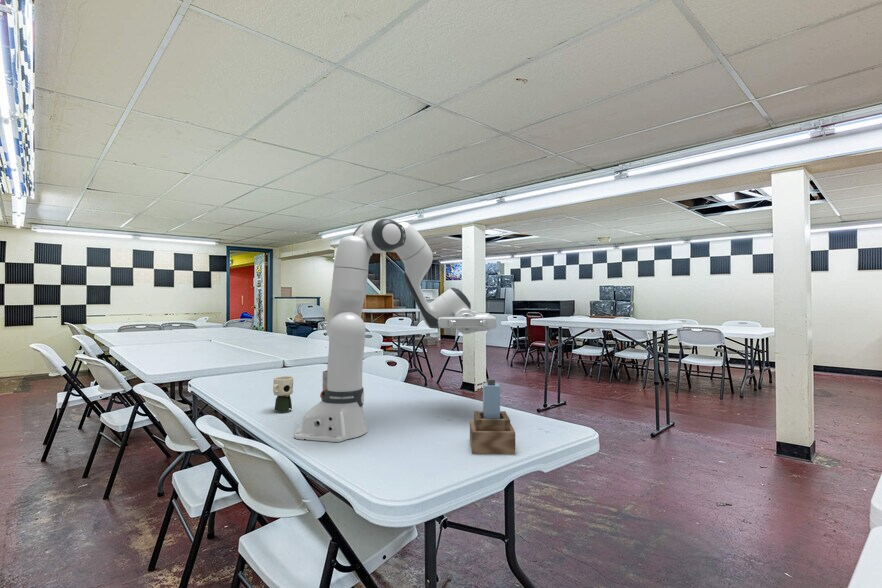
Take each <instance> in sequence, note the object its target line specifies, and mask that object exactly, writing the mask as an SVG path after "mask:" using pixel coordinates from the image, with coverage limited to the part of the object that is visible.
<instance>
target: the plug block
mask: <svg viewBox="0 0 882 588" xmlns="http://www.w3.org/2000/svg"><path fill="white" fill-rule="evenodd" d="M482 411H483V419H500V411H501V386H500V384H499V383H498V382H496V379H495V378H487V381H486V382H483V383H482Z"/></svg>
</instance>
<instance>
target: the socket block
mask: <svg viewBox="0 0 882 588" xmlns="http://www.w3.org/2000/svg"><path fill="white" fill-rule="evenodd" d="M469 443H470V449H471V450H470V451H471V455H516V431H515V429H514V427H513V425H512V424H511V419H510V417H509V415H508V413H507V412H506V411H505V410H504V411H501V410H500V419H483V410H480V411H479V410H474V411H473V419H469Z"/></svg>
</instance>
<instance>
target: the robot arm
mask: <svg viewBox="0 0 882 588" xmlns="http://www.w3.org/2000/svg"><path fill="white" fill-rule="evenodd" d="M392 251H394V252H395V253H396V254H397V256H398V257H399V259H400V260H401V262H402V263H403V265H404V272H403V275H402V276H403V279H404V281H405V284H406V286H407V288H408V290H409V292H410V295H411V297H412V299H414V301H415V304H416V306H417V307H418V309H419V312H420V315H421V318H422V320H423V322H424V323H425V325H426V326H427V327H428V328H429V329H433V330H434V329H435V330H436V329H437V330H438V329H456V330H457V331H458V332H459V333H460V334H464V335H468V334H472V333H473V334H474V333H477V332H484V331H485V332H487V331H490V330H492V329H496V328H497V317H496V316H494V315H491V314H490V312H482V311H481V312H480V311H474V310H472V309H471V308H472V307H471V306H472V304H471V301H469V298H468V297H467V296H466V295H465V294H464V293H463V292H462V291H461V290H460V289H459V288H456V287H450V288H448V289H447V290H445V291H444V292H443V293H441V294H440V295H439V296H438V297H436V298H435V299H433V300H432V301H431V302H428V301H427V299H426V297H425V295H424V293H423V292H422V288H421V284H422V282H423V279H424V278H425V276H426V274H427V273H428V272H429V270H430V268H431V266H432V264H433V257H434V255H433V251H432V249H431V247H430V246H429V244H428V243H427V241H426V240H425V239H424V237H423V236H422V234H421V233H419V231H418V230H417V229H416V228H415V227H414V226H413V225H411V224H410V223H409V222H407V221H401V222H397V221H395V220H393V219H390V218H389V219H388V218H382V219H377V220H376V219H375V220H374V219H373V220H370V221H368V222H366V223H362V224H361V225H359V226H358V227H357V228H356V229H355V230H354V231H353V234H352V235H346V236H344V237H342V238H340V240H339V243H338V246H337V249H336V253H335V257H334V262H333V263H334V264H333V271H332V272H333V273H332V282H331V290H330V291H331V292H330V296H329V304H328V310H327V311H328V312H327V320H326V323H325V324H326V326H325V330H326V331H325V332H326V334H327V336H328V354H327V355H328V356H327V357H328V358H327V365H326V366H327V368H326V369H327V370H326V371H327V387H326V388H325V389H323V388H322V391H320V393H319V395H320V396H319V398H320V399H321V400H320V401H319V402H318V403H317V404H315V405H314V406H313V407H312V408H310V409H309V410H308V411H307V412H306V413H305V415H304V416H303V418H302V423H301V426H299V427H298V428H297V429H295V431H294V435H293V438H294V437H295V438H296V439H295V438H294V439H295V440H304V439H306V440H305V441H316V442H318V441H319V442H331V443H333V442H334V443H340V442H343V441H347V440H348V439H349V440H350V439H353V438H354V439H355V438H357V437H361V436H363V435H366V433H367V432H368V427H367V425H366V421H365V420H366V419H365V414H364V404H365V391H364V389H365V388H364V386H363V361H364V355H365V354H364V353H365V352H364V351H365V342H366V324H365V322H364V320H363V318H362V312H363V308H364V303H365V299H366V296H367V295H366V294H367V286H368V285H367V284H368V275H369V263H370V258H371V257H372V255H373V254H384V253H386V252H392Z"/></svg>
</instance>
